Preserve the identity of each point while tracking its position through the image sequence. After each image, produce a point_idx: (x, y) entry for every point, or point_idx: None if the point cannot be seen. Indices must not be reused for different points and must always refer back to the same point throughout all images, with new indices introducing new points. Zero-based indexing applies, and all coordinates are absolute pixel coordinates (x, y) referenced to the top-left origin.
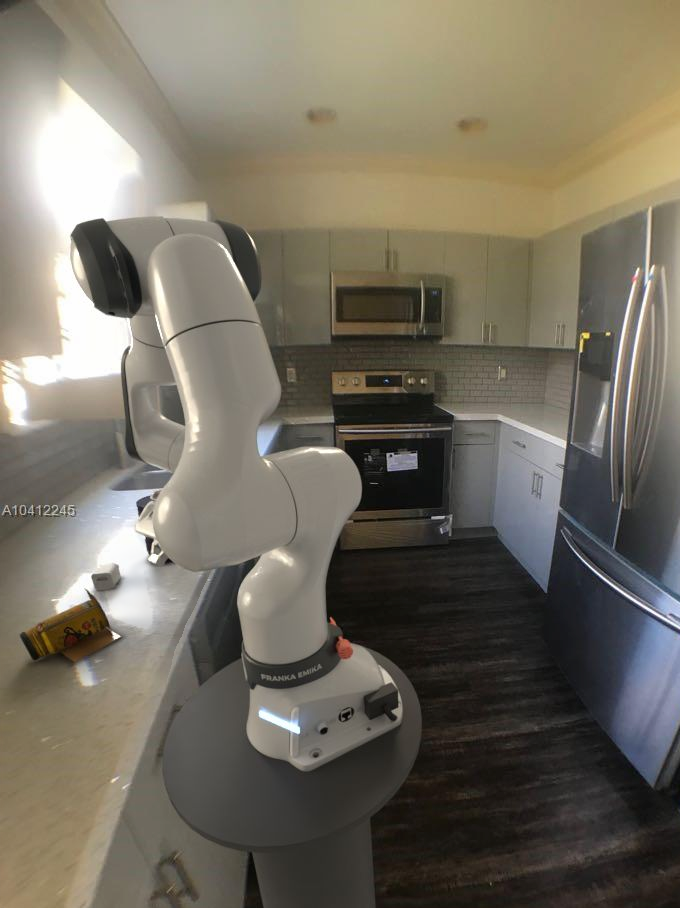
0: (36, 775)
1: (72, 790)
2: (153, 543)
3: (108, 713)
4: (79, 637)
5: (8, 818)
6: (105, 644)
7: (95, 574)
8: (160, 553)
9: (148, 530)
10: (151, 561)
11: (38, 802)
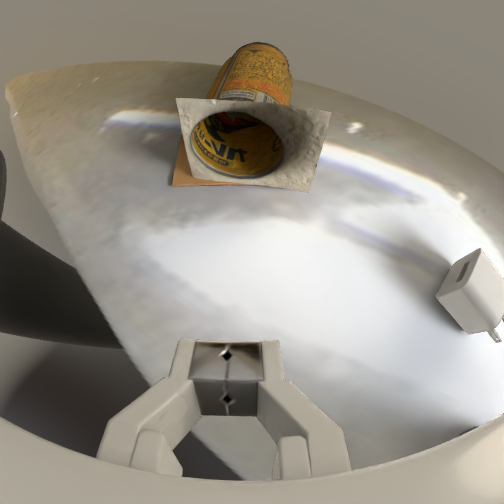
0: (73, 75)
1: (38, 92)
2: (326, 439)
3: (56, 121)
4: (213, 114)
5: (66, 66)
6: (177, 155)
7: (478, 255)
8: (166, 392)
9: (477, 470)
10: (233, 341)
11: (55, 77)
